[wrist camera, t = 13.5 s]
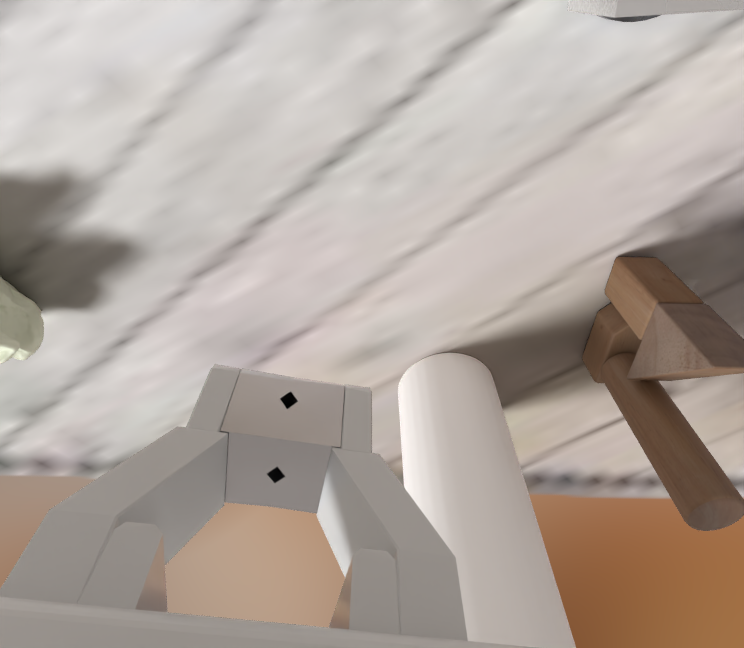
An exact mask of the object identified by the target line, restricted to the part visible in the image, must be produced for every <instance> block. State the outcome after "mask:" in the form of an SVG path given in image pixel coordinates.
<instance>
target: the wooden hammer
mask: <svg viewBox="0 0 744 648" xmlns="http://www.w3.org/2000/svg"><path fill="white" fill-rule="evenodd" d="M605 294H606V296H607V297H608V298H609V300H610V301H611V302H612V303H611V304H609V305H607V306H606V307H604V308H603V309H601V310H600V311H598V313H597V315H596V318H595V321H594V324H593V327H592V330H591V333H590V336H589V339H588V342H587V345H586V348H585V351H584V353H583V356H582V360H583V362H584V363H585V365H586V367H587V369H588V371H589V372H590V374H591V376H592V378H593V380H594V381H595V382H597V383H605V385H606V387H607V388H608V390H609V392H610V394H611V395H612V397H613V399H614V400H615V402H616V404H617V406H618V407H619V409H620V411H621V413H622V414H623V416H624V418H625V419H626V421H627V423H628V425H629V426H630V428H631V430H632V431H633V433H634V435H635V437H636V438H637V440H638V442H639V443H640V445H641V447H642V449H643V450H644V452H645V454H646V456H647V457H648V459H649V461H650V462H651V464H652V466H653V468H654V469H655V471H656V473H657V474H658V476H659V478H660V480H661V481H662V483H663V485H664V486H665V488H666V490H667V492H668V493H669V495H670V497H671V499H672V500H673V502H674V504H675V505H676V507H677V509H678V511H679V512H680V514H681V516H682V517H683V519H684V521H685V522H686V523H687V524H688V525H689V526H691V527H692V528H694V529H697V530H703V531H710V530H717V529H721V528H724V527H727V526H729V525H732V524H733V523H735V522H736V521H738V520H739V519H740V518H741V517H742V516H743V515H744V499H743V498H742V496H741V495H740V494H739V492H738V491H737V490H736V488H735V487H734V485H733V484H732V483H731V481H730V480H729V478H728V477H727V476H726V474H725V473H724V471H723V470H722V469H721V467H720V466H719V465H718V463H717V462H716V460H715V459H714V458H713V456H712V455H711V453H710V452H709V451H708V449H707V448H706V446H705V445H704V444H703V442H702V441H701V440H700V438H699V437H698V435H697V434H696V433H695V431H694V430H693V428H692V427H691V426H690V424H689V423H688V421H687V420H686V419H685V417H684V416H683V415H682V413H681V412H680V410H679V409H678V408H677V406H676V405H675V403H674V402H673V401H672V399H671V398H670V396H669V395H668V394H667V392H666V391H665V390H664V388H663V387H662V385H661V384H660V383H659V381H673V380H682V379H691V378H701V377H710V376H720V375H729V374H738V373H744V339H743V338H742V337H741V336H740V335H738V334H737V333H736V332H735V331H734V330H733V329H732V328H731V327H730V326H729V325H728V324H727V323H726V322H725V321H724V320H723V319H722V318H721V317H720V316H719V315H718V314H717V313H716V312H715V311H713V310H712V309H711V308H710V307H709V306H708V305H706V304H703V301H702V300H701V299H700V298H699V297H698V296H697V295H696V294H695V293H693V292H692V291H691V290H690V289H689V288H688V287H687V286H686V285H685V284H684V283H683V282H682V281H681V280H680V279H679V278H678V277H677V276H676V275H675V274H674V273H673V272H672V271H671V270H670V269H669V268H667V267H666V266H665V265H664V264H663V263H662V262H661V261H660V260H659V259H658V258H653V257H617V258H616V259H615V261H614V264H613V267H612V270H611V273H610V276H609V279H608V282H607V285H606V288H605Z"/></svg>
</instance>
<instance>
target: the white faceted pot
mask: <svg viewBox="0 0 744 648" xmlns="http://www.w3.org/2000/svg"><path fill="white" fill-rule="evenodd" d="M597 16H599V17H602V18H605V19H609V20H615V21H622V22H636V21H643V20H647V19H651V18H654V17H657V16H660V15H648V16H632V17H616V18H614V17H607V16H600V15H597Z"/></svg>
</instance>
